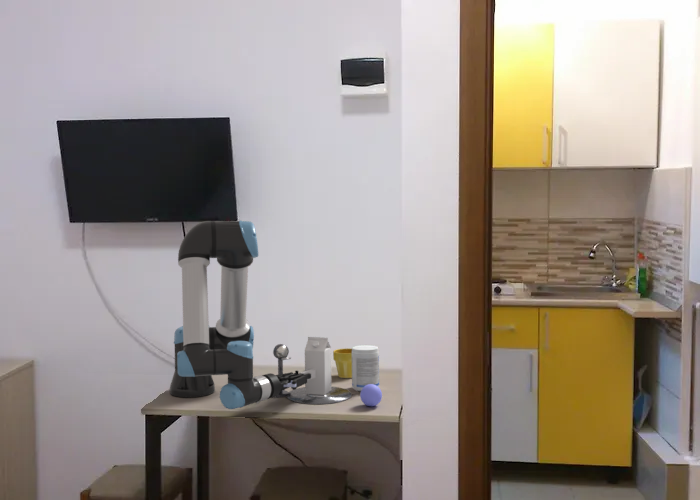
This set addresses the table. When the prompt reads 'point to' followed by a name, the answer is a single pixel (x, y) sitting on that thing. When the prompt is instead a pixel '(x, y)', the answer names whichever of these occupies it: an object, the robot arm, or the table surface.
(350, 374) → the plant pot
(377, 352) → the supplement tub
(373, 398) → the sphere
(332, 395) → the turntable
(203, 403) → the table surface
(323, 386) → the milk carton
